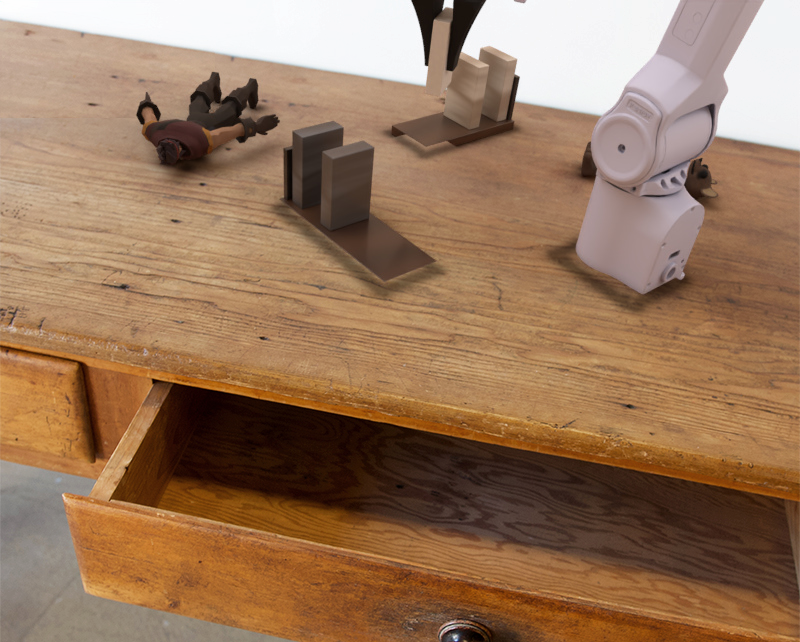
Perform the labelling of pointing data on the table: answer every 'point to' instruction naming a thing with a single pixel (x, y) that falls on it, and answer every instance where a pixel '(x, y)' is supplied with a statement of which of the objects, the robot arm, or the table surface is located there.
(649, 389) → the table surface
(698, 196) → the bear figurine
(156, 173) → the table surface
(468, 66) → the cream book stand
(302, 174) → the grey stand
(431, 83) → the cream wooden block
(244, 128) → the figurine
